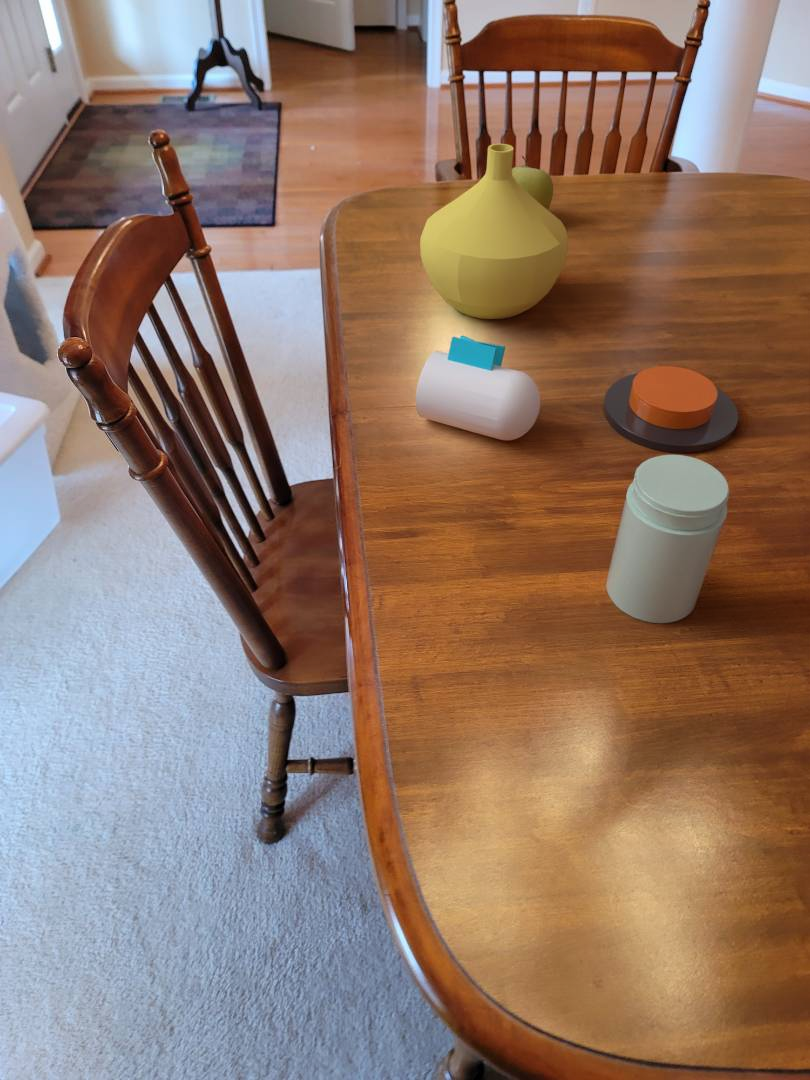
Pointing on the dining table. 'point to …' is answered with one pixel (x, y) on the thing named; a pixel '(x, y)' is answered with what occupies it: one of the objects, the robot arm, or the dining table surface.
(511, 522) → the dining table surface
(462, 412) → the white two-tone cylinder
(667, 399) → the lid
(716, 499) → the jar
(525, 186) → the apple
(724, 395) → the mat
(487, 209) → the vase
